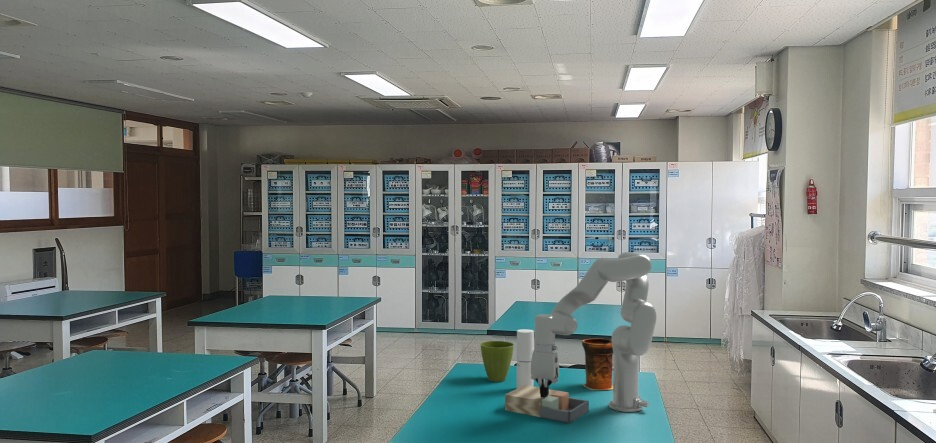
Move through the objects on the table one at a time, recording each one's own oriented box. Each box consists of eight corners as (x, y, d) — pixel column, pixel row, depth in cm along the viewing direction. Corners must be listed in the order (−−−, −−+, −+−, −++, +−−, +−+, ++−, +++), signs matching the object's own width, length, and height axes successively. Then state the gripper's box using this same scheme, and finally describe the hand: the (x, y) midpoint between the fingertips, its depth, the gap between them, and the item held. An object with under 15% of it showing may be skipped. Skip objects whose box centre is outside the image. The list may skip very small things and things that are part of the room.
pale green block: (548, 411, 251) (558, 413, 249) (541, 415, 246) (551, 417, 244) (548, 395, 251) (558, 397, 249) (541, 399, 246) (551, 401, 244)
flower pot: (475, 376, 303) (475, 341, 302) (506, 374, 307) (506, 339, 307) (486, 385, 289) (486, 348, 288) (518, 382, 293) (518, 346, 293)
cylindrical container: (527, 393, 277) (528, 333, 276) (513, 390, 282) (513, 331, 281) (536, 389, 283) (537, 330, 282) (522, 386, 287) (522, 328, 286)
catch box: (588, 411, 253) (588, 400, 253) (569, 423, 239) (569, 412, 239) (559, 405, 260) (559, 395, 260) (539, 417, 245) (539, 406, 245)
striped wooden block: (559, 406, 259) (559, 390, 259) (540, 417, 246) (540, 401, 246) (525, 399, 267) (525, 385, 267) (505, 410, 254) (505, 394, 254)
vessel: (590, 392, 278) (591, 344, 278) (576, 384, 292) (576, 338, 292) (621, 390, 282) (622, 342, 282) (606, 382, 296) (606, 337, 296)
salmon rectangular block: (559, 406, 258) (568, 408, 256) (552, 410, 253) (561, 412, 251) (559, 390, 258) (568, 392, 255) (552, 394, 253) (562, 396, 250)
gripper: (567, 348, 248) (566, 397, 248) (531, 343, 256) (531, 391, 257) (558, 352, 242) (558, 402, 242) (522, 347, 250) (521, 395, 250)
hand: (544, 396), depth 249 cm, fingers closed
